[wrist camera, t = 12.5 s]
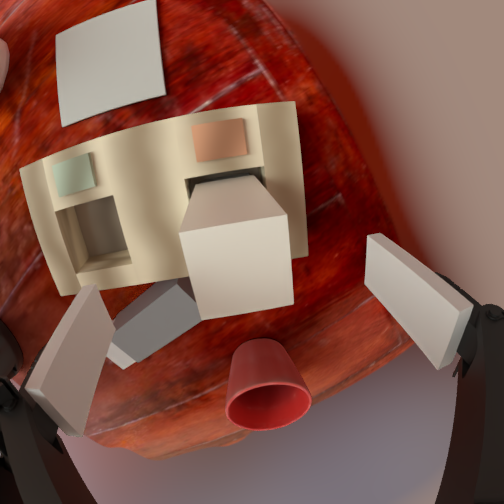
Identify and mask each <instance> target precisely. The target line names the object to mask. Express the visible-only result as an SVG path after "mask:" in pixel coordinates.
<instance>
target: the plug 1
mask: <svg viewBox="0 0 504 504" xmlns="http://www.w3.org/2000/svg"><path fill="white" fill-rule="evenodd" d="M201 321H202V320H201V317H200V313H199V310H198V306H197V303H196V299H195V295H194V292H193V288H192V284H191V281H190V277H189V276H188V277H182V278H176V279H170V280H163V281H157V282H156V283H155V284H154V285H152V286H151V287H150V288H149V289H147V290H146V291H145V292H144V293H143V294H141V295H140V296H139V297H138V298H136V299H135V300H134V301H133V302H132V303H130V304H129V305H128V306H127V307H126V308H124V309H123V310H122V311H121V312H120V313H118V314H117V316H116V318H115V319H114V320H112V322H113V325H114V327H115V329H116V330H115V332H114V335H113V338H112V341H111V344H110V346H109V349H108V352H107V355H106V357H108V358H109V359H110V360H111V361H113V362H114V363H115V364H117V365H118V366H119V367H121V368H122V369H123V370H124V369H125V368H127V367H128V366H130V365H131V364H133V363H134V362H138V363H139V362H140V361H142V360H143V359H145V358H146V357H148V356H149V355H151V354H152V353H154V352H156V351H157V350H159V349H160V348H162V347H163V346H165V345H166V344H168V343H169V342H171V341H172V340H174V339H175V338H177V337H178V336H180V335H181V334H183V333H184V332H186V331H187V330H189V329H190V328H192V327H193V326H195V325H196V324H198V323H199V322H201Z"/></svg>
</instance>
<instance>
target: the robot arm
mask: <svg viewBox="0 0 504 504" xmlns="http://www.w3.org/2000/svg"><path fill="white" fill-rule="evenodd" d="M364 284H365V285H366V286H367V287H368V289H369V290H370V291H371V292H372V293H373V294H374V295H375V296H376V297H377V299H378V300H379V301H380V302H381V303H382V304H383V305H384V307H385V308H386V309H387V310H388V311H389V312H390V313H391V315H392V316H393V317H394V318H395V319H396V320H397V322H398V323H399V324H400V325H401V326H402V327H403V329H404V330H405V331H406V332H407V333H408V334H409V336H410V337H411V338H412V339H413V340H414V342H415V343H416V344H417V345H418V346H419V348H420V349H421V350H422V351H423V353H424V354H425V355H426V356H427V357H428V359H429V360H430V361H431V362H432V364H433V365H434V366H435V368H436V369H437V370H439V369H441V368H443V367H445V366H447V365H449V364H451V363H452V361H453V359H454V356H455V354H456V352H458V354H459V355H460V356H461V358H460V360H459V362H458V364H457V367H456V369H455V371H454V373H453V377H455V375H456V373H457V372H458V385H457V397H456V407H455V415H454V416H455V417H454V423H453V430H452V436H451V441H450V447H449V452H448V457H447V461H446V466H445V470H444V474H443V478H442V482H441V485H440V489H439V492H438V495H437V498H436V502H435V504H504V310H503V309H502V308H500V307H499V306H497V305H493V304H486V305H483V306H481V305H480V304H479V303H478V302H477V301H476V300H474V299H473V298H472V297H471V296H470V295H468V294H467V293H466V292H465V291H464V290H462V289H460V287H459V286H457V285H456V284H454V282H452V281H451V280H450V279H449V278H447V277H446V276H443V275H441V274H439V273H436V272H435V273H434V272H433V271H431V270H430V269H429V268H428V267H426V266H425V265H424V264H422V263H421V262H419V261H418V260H417V259H416V258H414V257H413V256H412V255H410V254H409V253H407V252H406V251H405V250H404V249H402V248H401V247H399V246H398V245H397V244H395V243H394V242H392V241H391V240H390V239H388V238H387V237H385V236H384V235H382V234H381V233H377V234H372V235H367V252H366V270H365V283H364ZM115 330H116V329H115V327H114V325H113V322H112V320H111V318H110V316H109V314H108V311H107V309H106V307H105V305H104V302H103V300H102V298H101V295H100V293H99V290H98V288H97V286H96V284H91V285H85V286H83V287H82V288H81V290H80V291H79V293H78V294H77V296H76V297H75V299H74V300H73V302H72V304H71V305H70V307H69V308H68V310H67V311H66V313H65V315H64V316H63V318H62V320H61V321H60V323H59V325H58V326H57V328H56V330H55V331H54V333H53V335H52V336H51V338H50V340H49V342H48V344H46V345H45V346H44V347H43V348H42V349H41V350H40V351H39V353H38V354H37V356H36V358H35V360H34V361H35V362H33V364H32V366H31V369H29V371H28V373H27V375H26V377H25V379H24V381H23V383H22V385H21V387H20V390H19V392H18V390H17V389H16V388H15V387H14V385H13V384H12V383H11V381H10V379H12V378H13V377H14V376H15V375H16V374H17V373H18V372H19V370H20V368H21V367H22V365H23V355H22V352H21V349H20V347H19V345H18V343H17V341H16V339H15V338H14V336H13V335H12V333H11V332H10V331H9V329H8V328H7V327H6V326H5V325H4V323H3V322H2V321H1V320H0V453H1V456H0V504H97V502H96V501H95V499H94V498H93V496H92V494H91V493H90V491H89V490H88V488H87V486H86V485H85V483H84V481H83V480H82V478H81V476H80V474H79V473H78V471H77V469H76V467H75V465H74V463H73V461H72V460H71V458H70V456H69V454H68V452H67V450H66V447H65V445H64V443H63V441H62V439H61V438H60V436H59V435H58V434H57V430H58V427H59V428H60V429H61V430H62V431H63V432H64V433H65V434H66V435H68V436H76V437H83V433H84V429H85V425H86V421H87V418H88V414H89V410H90V407H91V403H92V399H93V396H94V393H95V389H96V386H97V383H98V379H99V376H100V373H101V370H102V367H103V364H104V361H105V358H106V355H107V352H108V349H109V346H110V344H111V341H112V338H113V335H114V332H115Z"/></svg>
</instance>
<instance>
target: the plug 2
mask: <svg viewBox="0 0 504 504" xmlns="http://www.w3.org/2000/svg"><path fill="white" fill-rule="evenodd" d="M179 236H180V241H181V245H182V249H183V253H184V257H185V261H186V265H187V269H188V273H189V277H190V281H191V284H192V288H193V292H194V295H195V299H196V303H197V306H198V310H199V313H200V317H201V320H207V319H213V318H220V317H226V316H232V315H238V314H244V313H250V312H255V311H261V310H266V309H272V308H277V307H282V306H287V305H292V304H294V297H293V282H292V268H291V254H290V242H289V230H288V219H287V214H286V213H285V211H284V210H283V209H282V208H281V207H280V205H279V204H278V203H277V202H276V201H275V199H274V198H273V197H272V196H271V195H270V193H269V192H268V191H267V190H266V189H265V187H264V186H263V185H262V184H261V183H260V182H259V180H258V179H257V178H256V177H255V176H254V175H249V173H248V172H247V173H241V174H234V175H228V176H222V177H216V178H210V179H205V180H200V182H199V184H196V185H195V187H194V190H193V193H192V196H191V198H190V201H189V204H188V207H187V210H186V213H185V215H184V218H183V221H182V224H181V227H180V230H179Z"/></svg>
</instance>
